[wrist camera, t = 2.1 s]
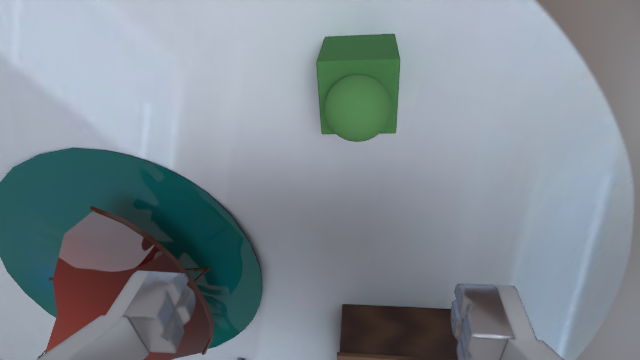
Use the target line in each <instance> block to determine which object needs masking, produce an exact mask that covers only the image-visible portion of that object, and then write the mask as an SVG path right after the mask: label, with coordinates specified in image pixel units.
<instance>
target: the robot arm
mask: <svg viewBox="0 0 640 360" xmlns="http://www.w3.org/2000/svg"><path fill="white" fill-rule="evenodd" d="M188 281H189V280H188V278H187V276H186V274H185V273H171V272H156V271H136V272H135V273H134V274H132V276H131V277H130V279H129V280H128V282H127V283H126V285H125V286H124V288H123V290H122V291H121V293H120V294H119V296H118V297H117V299H116V300H115V302H114V303H113V305H112V306H111V308H110V309H109V311H108V312H107V314H106V315H101V316H99V317H98V318H96V319H95V320H93V321H92V322H91V323H89V324H88V325H86V326H85V327H83V328H82V329H80V330H79V331H78V332H76V333H75V334H73V335H72V336H70V337H69V338H67V339H66V340H64V341H63V342H62V343H60V344H59V345H57V346H56V347H54V348H53V349H51V350H50V351H49V352H47V353H46V354H44V355H43V356H41V357H40V358H38V359H37V360H143V359H145V358H146V357H147V356H148V355H149V352H157V353H176V351H177V349H178V347H179V344H180V342H181V340H182V338H183V335H184V329H183V325H185V324H186V323H187V322H188V321H189V320H190V319H191V317H192V315H193V312H194V308H195V294H194V292H193V290H192V289H191V288H190V287H188V286H187V283H188ZM454 293H455V297H456V300H454V301H453V302H452V306H451V326H452V331H453V335H454V336H455V337H456V339H457V340H458V344H457V348H456V352H457V357H458V360H564V359H563V358H562V357H560V356H559V355H558V354H557V353H556V352H555V351H554V350H553V349H552V348H550V347H549V346H548V345H547V344H546V343H545V342H544V341H538V340H537V338H536V336H535V333H534V331H533V328H532V326H531V323H530V321H529V318H528V316H527V313H526V311H525V308H524V306H523V303H522V301H521V298H520V296H519V293H518V291H517V289H516V288H515V287H514V286H502V285H484V284H457V285H456V287H455V291H454Z"/></svg>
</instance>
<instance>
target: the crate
mask: <svg viewBox="0 0 640 360" xmlns="http://www.w3.org/2000/svg"><path fill="white" fill-rule="evenodd" d="M457 344H458V340H457V339H456V337H455V336H454V335H453V331H452V326H451V309H429V308H408V307H387V306H366V305H345V304H343V306H342V322H341V338H340V352H337V360H458V357H457V352H456V348H457Z"/></svg>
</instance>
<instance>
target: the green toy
mask: <svg viewBox="0 0 640 360" xmlns="http://www.w3.org/2000/svg"><path fill="white" fill-rule="evenodd" d="M316 63H317V77H318V91H319V104H320V118H321V131H322V134H337V135H338V136H340V137H342V138H343V139H346V140H349V141H354V142H360V141H366V140H369V139H371V138H373V137H375V136H376V135H378V134H379V133H396V125H397V107H398V90H399V73H400V56H399V52H398V47H397V43H396V38H395V34H381V35H358V36H334V37H325V39H324V42H323V45H322V48H321V51H320V54H319V57H318V60H317V62H316Z"/></svg>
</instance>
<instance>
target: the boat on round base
mask: <svg viewBox="0 0 640 360" xmlns="http://www.w3.org/2000/svg"><path fill="white" fill-rule="evenodd" d="M0 257H1V259H2V261H3V264H4V266H5V268H6V270H7V272H8V273H9V274H10V275H11V277H12V278H13V279H14V280H15V281H16V282H17V284H18V285H19V286H20V287H21V288H22V290H23V291H24V292H25V293H26V294H27V295H28V296H29V297H30V298H32V299H33V300H34V301H35V302H36V303H37V304H39V305H40V306H41V307H42V308H43V309H44V310H46V311H47V312H48V313H49V314H51V315H53V316H54V317H56V321H55V324H54V327H53V330H52V334H51V337H50V340H49V343H48V346H47V349H46V350H45V351H46V352H45V351H44V352H45V354H46V353H47V352H49V351H50V350H51V349H53V348H54V347H56V346H57V345H59V344H60V343H62V342H63V341H64V340H66V339H67V338H69V337H70V336H72V335H73V334H75V333H76V332H78V331H79V330H80V329H82V328H83V327H85V326H86V325H88V324H89V323H91V322H92V321H93V320H95V319H96V318H98V317H99V316H101V315H106V314H107V312H108V311H109V309H110V308H111V306H112V305H113V303H114V302H115V300H116V299H117V297H118V296H119V294H120V293H121V291H122V290H123V288H124V286H125V285H126V283H127V282H128V280H129V279H130V277H131V276H132V274H134V273H135V272H136V271H156V272H171V273H185V274H186V276H187V278H188V280H189V281H188V283H187V286H188V287H190V288H191V289H192V290H193V292H194V294H195V308H194V312H193V315H192V317H191V319H190V320H189V321H188V322H187V323H186V324H185V325H183V329H184V335H183V338H182V340H181V342H180V344H179V347H178V349H177V351H176V353H157V352H149V355H148V356H147V357H146V358H145V359H143V360H172V359H175V358H179V357H184V356H188V355H193V354H197V353H202V354H203V355H204V354H205V353H206V351H207V349H209V348H213V347H217V346H219V345H220V344H222V343H224V342H226V341H228V340H230V339H232V338H234V337H235V336H236V335H238V334H239V333H240V332H242V331H243V330H244V329H245V328H246V327H247V326H248V325H249V324H250V322H251V321H252V320H253V318H254V317H255V315H256V313H257V310H258V307H259V304H260V300H261V293H262V284H261V269H260V267H259V264H258V262H257V259H256V257H255V254H254V252H253V250H252V247H251V245H250V243H249V241H248V240H247V238H246V237H245V235H244V234H243V232H242V231H241V229H240V228H239V227H238V225H237V224H236V222H235V221H234V219H233V218H232V216H231V215H230V214H229V213H228V212H227V211H225V210H224V209H223V208H222V207H221V206H220V205H219V204H218V203H217V202H216V201H215V200H214V199H213V198H212V197H211V196H210V195H209V194H208V193H207V192H205V191H204V190H202V189H201V188H199V187H198V186H196V185H195V184H193V183H192V182H190V181H189V180H187V179H185V178H183V177H181V176H179V175H178V174H176V173H174V172H172V171H170V170H168V169H165V168H163V167H161V166H159V165H156V164H153V163H151V162H148V161H145V160H142V159H139V158H135V157H132V156H129V155H125V154H120V153H116V152H111V151H106V150H93V149H80V148H70V149H65V150H60V151H55V152H50V153H45V154H40V155H38V156H35V157H33V158H31V159H29V160H27V161H25V162H23V163H21V164H19V165H17V166H15V167H13V168H12V169H11V171H10V172H9V173H8V174H7V175H6V176H5V177H4V179H3V180H2V181H1V182H0ZM41 356H43V354H42V355H41ZM41 356H39V357H38V358H40V357H41Z"/></svg>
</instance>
